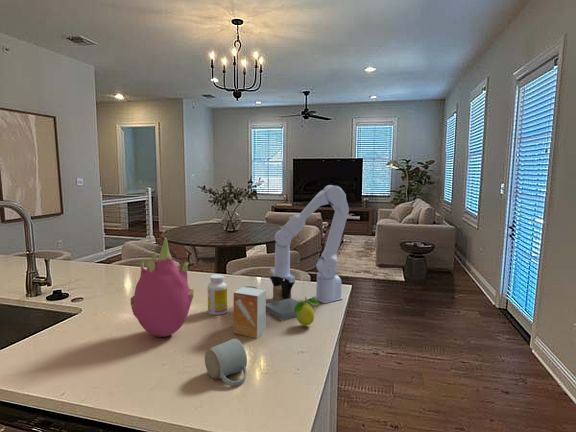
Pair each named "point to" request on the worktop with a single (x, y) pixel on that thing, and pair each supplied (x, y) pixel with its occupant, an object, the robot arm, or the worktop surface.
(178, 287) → the pink dragon fruit
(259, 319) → the small box
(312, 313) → the lemon
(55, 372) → the worktop surface
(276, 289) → the walnut block
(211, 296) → the supplement bottle
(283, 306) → the slate tile
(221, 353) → the ceramic mug
